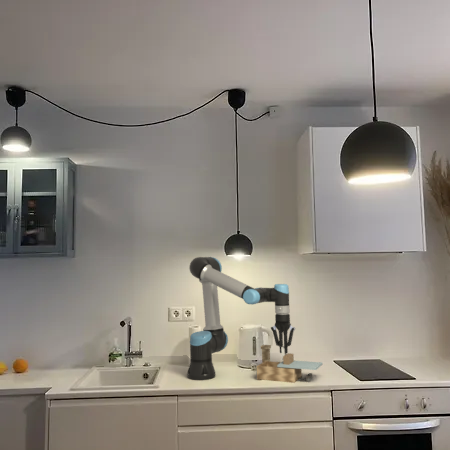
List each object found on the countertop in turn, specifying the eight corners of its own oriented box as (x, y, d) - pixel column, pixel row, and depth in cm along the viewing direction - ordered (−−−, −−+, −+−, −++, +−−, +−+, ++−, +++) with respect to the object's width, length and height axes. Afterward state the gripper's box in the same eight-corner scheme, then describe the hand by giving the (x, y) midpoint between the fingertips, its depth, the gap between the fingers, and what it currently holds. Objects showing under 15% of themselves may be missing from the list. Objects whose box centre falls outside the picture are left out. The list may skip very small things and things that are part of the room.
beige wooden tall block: (261, 370, 250) (260, 346, 252) (264, 369, 254) (263, 344, 255) (268, 371, 248) (268, 346, 250) (271, 369, 252) (270, 345, 254)
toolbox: (257, 380, 230) (256, 366, 231) (265, 374, 242) (265, 361, 243) (307, 384, 219) (306, 370, 220) (314, 378, 231) (313, 364, 231)
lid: (277, 367, 226) (276, 356, 227) (285, 361, 238) (284, 352, 238) (316, 370, 218) (315, 359, 218) (322, 364, 229) (322, 354, 230)
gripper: (268, 314, 233) (269, 360, 231) (292, 314, 228) (294, 362, 225) (273, 312, 240) (274, 357, 238) (296, 313, 234) (298, 359, 232)
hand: (283, 359), depth 232 cm, fingers closed
